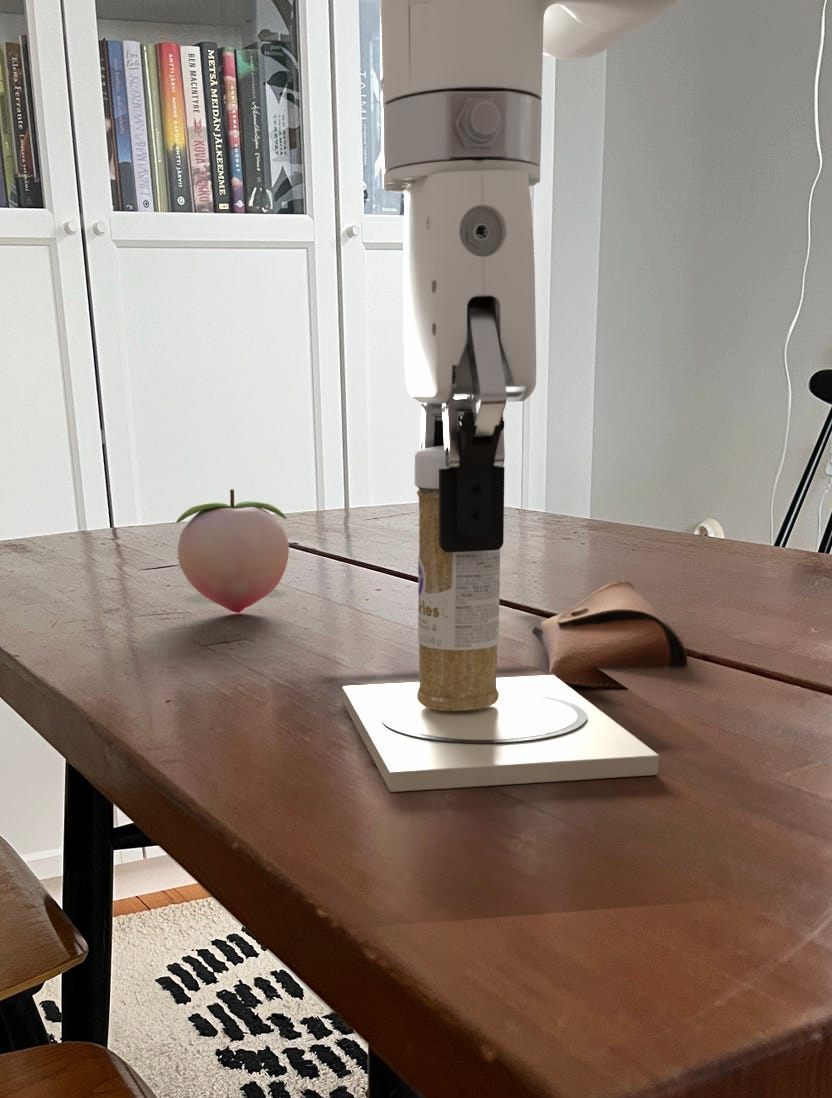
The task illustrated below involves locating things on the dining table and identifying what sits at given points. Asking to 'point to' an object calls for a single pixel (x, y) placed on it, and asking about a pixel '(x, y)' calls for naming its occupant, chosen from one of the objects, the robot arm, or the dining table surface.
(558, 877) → the dining table surface
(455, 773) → the white flat block
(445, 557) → the sprinkles bottle
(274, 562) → the decorative fruit
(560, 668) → the sunglasses case
